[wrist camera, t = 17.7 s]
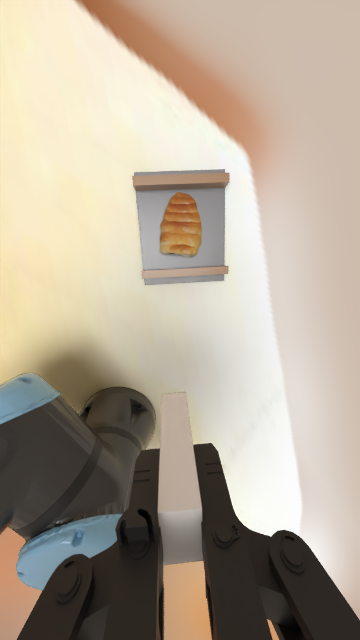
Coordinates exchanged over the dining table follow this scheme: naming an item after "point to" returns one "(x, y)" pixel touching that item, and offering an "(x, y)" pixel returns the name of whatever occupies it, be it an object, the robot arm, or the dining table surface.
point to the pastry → (180, 227)
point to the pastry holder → (211, 209)
